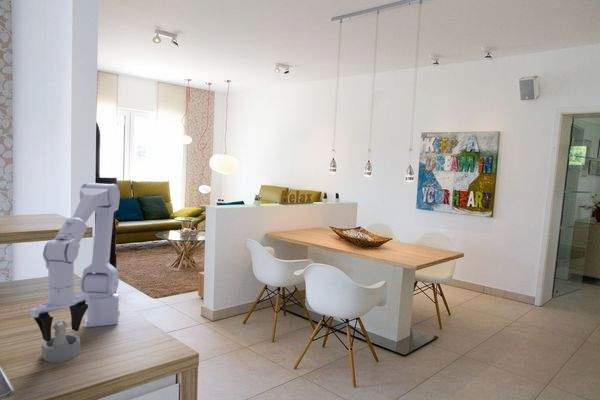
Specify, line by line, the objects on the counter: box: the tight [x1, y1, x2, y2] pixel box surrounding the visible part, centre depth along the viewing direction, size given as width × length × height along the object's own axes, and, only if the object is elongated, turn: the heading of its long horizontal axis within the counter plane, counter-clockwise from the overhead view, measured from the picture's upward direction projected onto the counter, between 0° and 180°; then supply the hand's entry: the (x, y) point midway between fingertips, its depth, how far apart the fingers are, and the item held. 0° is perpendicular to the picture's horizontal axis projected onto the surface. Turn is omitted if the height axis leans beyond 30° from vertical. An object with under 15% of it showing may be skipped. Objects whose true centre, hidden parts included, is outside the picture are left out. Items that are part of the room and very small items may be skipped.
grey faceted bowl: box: [41, 333, 81, 363], centre depth 111 cm, size 9×9×4 cm
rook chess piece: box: [51, 320, 69, 347], centre depth 111 cm, size 4×4×8 cm
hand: (61, 334), depth 111 cm, fingers open, 7 cm apart
